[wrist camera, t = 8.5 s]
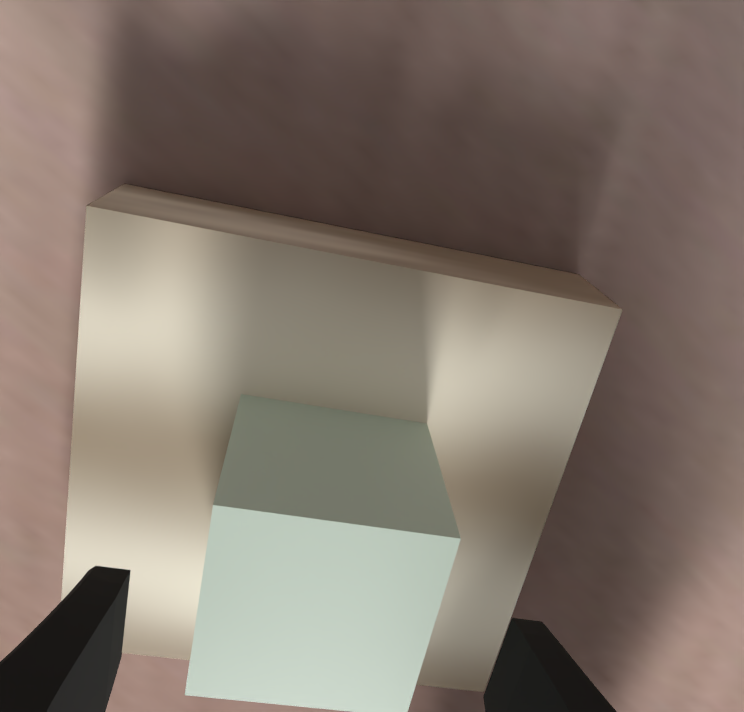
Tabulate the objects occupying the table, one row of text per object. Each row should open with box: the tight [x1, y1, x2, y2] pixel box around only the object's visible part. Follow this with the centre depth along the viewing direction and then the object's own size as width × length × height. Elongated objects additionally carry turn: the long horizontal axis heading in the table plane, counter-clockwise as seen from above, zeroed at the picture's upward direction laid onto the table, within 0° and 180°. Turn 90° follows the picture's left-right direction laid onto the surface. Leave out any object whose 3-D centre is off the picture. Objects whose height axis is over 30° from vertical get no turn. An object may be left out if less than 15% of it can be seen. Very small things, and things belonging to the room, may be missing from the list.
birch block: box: [61, 184, 623, 692], centre depth 19 cm, size 12×12×3 cm
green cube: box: [185, 394, 461, 712], centre depth 15 cm, size 4×4×4 cm
